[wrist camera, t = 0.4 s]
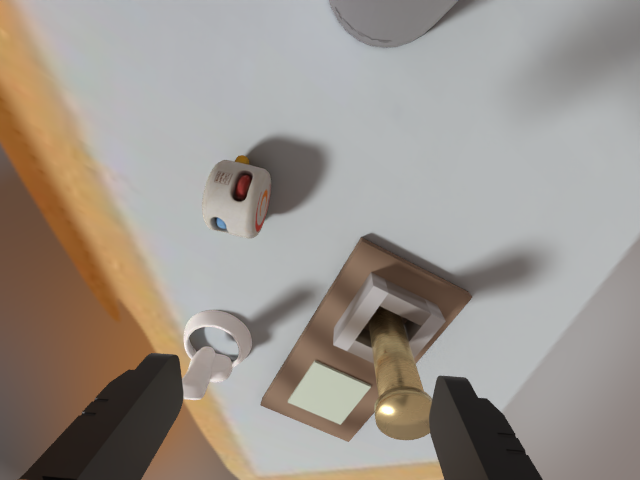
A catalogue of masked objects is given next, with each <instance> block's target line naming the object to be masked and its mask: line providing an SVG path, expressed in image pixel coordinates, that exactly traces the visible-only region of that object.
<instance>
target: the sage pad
mask: <svg viewBox="0 0 640 480" xmlns="http://www.w3.org/2000/svg"><path fill="white" fill-rule="evenodd" d="M370 388H371V385H369V384H367V383H365V382H363V381H361V380H358V379H356V378H354V377H352V376H349V375H347V374H345V373H343V372H340V371H338V370H336V369H334V368H331V367H329V366H327V365H325V364H322V363H320V362H318V361H316V360H314V362H313V363H312V365H311V366H310V368H309V369H308V371H307V372H306V374H305V375H304V377H303V378H302V380H301V381H300V383H299V384H298V386H297V387H296V389H295V390H294V392H293V393H292V395H291V396H290V398H289V399H288V403H290V404H293V405H295V406H297V407H300V408H302V409H304V410H307V411H309V412H311V413H314V414H316V415H319V416H321V417H323V418H326V419H328V420H330V421H333V422H335V423H338V424H340V425H341V424H342V422H343V421H344V420H345V419H346V417H347V416H348V415H349V414H350V413H351V411H352V410H353V409H354V408H355V406H356V405H357V404H358V403H359V401H360V400H361V399H362V398H363V396H364V395H365V394H366V393H367V391H368V390H369V389H370Z"/></svg>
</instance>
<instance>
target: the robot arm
mask: <svg viewBox="0 0 640 480" xmlns="http://www.w3.org/2000/svg"><path fill="white" fill-rule="evenodd" d="M457 1H458V0H329V2H330V6H331V8H332V10H333V12H334V14H335V16H336V18H337V20H338V21H339V23H340V24H341V25H342V26H343V27H344V29H345V30H346V31H347V32H348V33H349V34H351V35H352V36H353V37H354V38H356V39H357V40H359V41H361V42H363V43H365V44H368V45H370V46H375V47H381V48H388V47H398V46H401V45H404V44H407V43H410V42H412V41H413V40H415V39H417V38H419V37H420V36H422V35H423V34H425V33H426V32H427V31H428V30H429V29H430V28H431V27H432V26H434V25H435V24H436V23H437V22H438V21H439V20H440V19H441V17H442V16H443V15H444V14H445V13H446V12H447V11H448V10H449V9H450V8H452V7H453V6H454V5H455V4H456V2H457ZM183 396H184V392H183V384H182V377H181V369H180V362H179V358H178V356H177V355H172V354H158V353H151V354H149V355H148V356H147V357H146V358H145V359H144V360H143V361H142V362H141V363H140V364H139V366H138V367H137V368H136V369H135V370H128V371H126V372H125V373H123V374H122V375H120V376H119V377H117V378H116V379H114V380H113V381H111V382H110V383H109V384H108V385H107V386H106V387H105V388H104V389H103V390H102V391H101V392H100V394H99V395H98V396H97V397H96V398H95V401H94V402H91V403H90V404H89V405H88V406H87V408H85V410H84V411H83V412H82V415H81V416H78V417H77V418H76V419H75V420H74V421H73V423H71V425H70V426H69V427H68V428H67V429H66V430H65V431H64V432H63V433H62V434H61V435H60V436H59V437H58V438H57V440H56V441H55V442H54V443H53V444H52V445H51V446H50V447H49V448H48V449H47V450H46V451H45V453H44V454H43V455H42V456H41V457H40V458H39V459H38V460H37V461H36V462H35V463H34V464H33V465H32V466H31V467H30V468H29V470H28V471H27V472H26V473H25V474H24V475H23V476H22V477H21V478H20V479H19V480H141V479H142V477H143V475H144V473H145V472H146V470H147V468H148V466H149V465H150V463H151V461H152V459H153V458H154V456H155V454H156V453H157V451H158V449H159V447H160V446H161V444H162V442H163V440H164V439H165V437H166V435H167V433H168V431H169V430H170V428H171V427H172V425H173V423H174V421H175V420H176V418H177V416H178V414H179V412H180V409H181V406H182V403H183ZM429 427H430V433H431V438H432V441H433V444H434V447H435V450H436V454H437V457H438V460H439V463H440V466H441V470H442V473H443V476H444V479H445V480H542V478H541V476H540V474H539V473H538V471H537V470H536V468H535V466H534V465H533V463H532V461H531V460H530V458H529V456H528V455H526V453H525V449H524V448H523V447H522V445H521V443H520V441H519V440H518V438H516V437H515V433H514V431H513V430H512V428H511V426H510V425H509V423H508V421H507V420H506V418H505V416H504V415H503V414H502V413H501V412H500V411H499V410H498V409H497V408H496V407H495V406H494V405H493V404H492V403H491V402H490V401H489V400H488V399H485V398H478V397H477V395H476V393H475V391H474V390H473V388H472V386H471V384H470V382H469V381H468V379H466V378H464V377H451V376H438V378H437V381H436V385H435V390H434V394H433V399H432V404H431V408H430V413H429Z"/></svg>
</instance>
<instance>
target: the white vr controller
mask: <svg viewBox="0 0 640 480" xmlns="http://www.w3.org/2000/svg"><path fill="white" fill-rule="evenodd" d="M202 327H215V328H219V329H222V330H224V331H226V332H227V333H229V334H230V335H231V336H232V337H233V338H234V339H235V341H236V342H237V344H238V348H239V355H238V358H237V360H235V361H232V362H231V360H230V358H229V357H227V356H225V355H221V354H216V353H215V351H214V349H213V348H211V347H206V346H205V347H202V348H201V349H200V350H199V351H198V352H197V351H196V350H195V349H194V348H193V346H192V344H191V343H190V340H189V336H190V335H191V333H192V332H193V331H195V330H196V329H198V328H202ZM184 347H185V350H186V353H187V354H188V356H189V357H190V358H191V361H190V364H189V368H188V371H187V373H186V374H185V376H184V377H183V378H182V384H183V392H184V396H183V399H189V400H199V399H201V398H202V397H203V396H204V394H205V392H206V389H207V386H208V384H209V381H210V382H222V381H224V380H226V379H227V378H228V377H229V376H230V374H231V372H232V368H233V367H235V366H236V365H238V364H239V363H241V362H242V361H243V360H244V359H245V358H246V357H247V356H248V354H249V353H250V351H251V347H252V338H251V334H250V332H249V330H248V328H247V327H246V326H245V324H244V323H243V322H242V321H240V320H239V319H238V318H236V317H235V316H233V315H231V314H229V313H226V312H223V311H217V310H207V311H203V312H200V313H198V314H195V315H194V316H193V317H192V318H190V320H189V321H188V322H187V325H186V327H185V332H184Z"/></svg>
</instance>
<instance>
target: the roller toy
mask: <svg viewBox="0 0 640 480" xmlns="http://www.w3.org/2000/svg"><path fill="white" fill-rule="evenodd" d="M270 194H271V177H270V174H269V173H268V171H267V170H265V169H263V168H259V167H255V166H252V165H249V159H248V158H247V157H246V156H243V155H241V156H238V157H237V158H236V160H235V162H233V161H229V160H223V161H221V162H219V163H218V164H216V165H215V167H214V168H213V169H212V171H211V173H210V175H209V177H208V180H207V182H206V186H205V190H204V194H203V202H202V212H203V218H204V221H205V223H206V225H207V226H208V227H209V228H210V229H212V230H216V231H222V232H226V233H229V234H231V235H236V236H240V237H244V238H254V237H255V236H257V235H258V233H259V232H260V230H261V228H262V226H263V223H264V220H265V217H266V213H267V210H268V205H269V200H270Z"/></svg>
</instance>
